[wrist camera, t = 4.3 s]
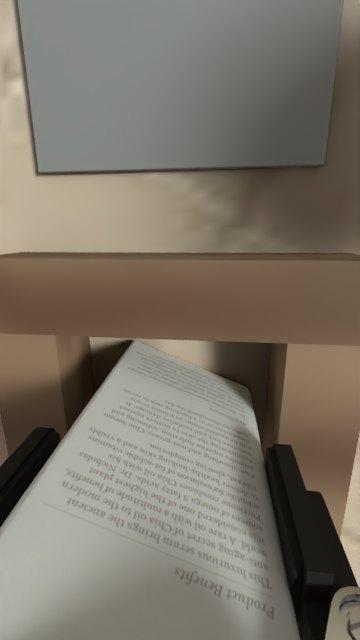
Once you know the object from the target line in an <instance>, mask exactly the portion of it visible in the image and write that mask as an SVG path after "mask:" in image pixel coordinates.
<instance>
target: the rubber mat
mask: <svg viewBox="0 0 360 640" xmlns="http://www.w3.org/2000/svg"><path fill="white" fill-rule="evenodd" d="M343 1H344V0H18V8H19V16H20V24H21V32H22V41H23V49H24V57H25V65H26V73H27V81H28V90H29V98H30V106H31V114H32V122H33V131H34V139H35V147H36V155H37V163H38V171H39V172H40V173H44V174H47V173H84V172H121V171H159V170H196V169H233V168H270V167H308V166H322V165H324V164H325V158H326V149H327V141H328V132H329V123H330V114H331V106H332V97H333V88H334V80H335V71H336V62H337V53H338V45H339V36H340V27H341V18H342V10H343Z"/></svg>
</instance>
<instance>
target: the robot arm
mask: <svg viewBox="0 0 360 640" xmlns="http://www.w3.org/2000/svg"><path fill="white" fill-rule="evenodd" d="M60 442H61V441H60V435H59V433H56V431H55V429H54V428H46V427H37V428H35V429H34V430H33V431H32V432H31V433H30V435H29V436H28V437H27V438H26V439H25V440H24V441H23V442H22V443H21V444H20V446H19V447H18V448H17V449H16V450H15V451H14V452H13V453H12V454H11V455H10V457H9V458H8V459H7V460H6V461H5V462H4V463H3V464H2V465H1V466H0V527H1V526H2V524H3V523H4V522H5V520H6V519H7V517H8V516H9V514H10V513H11V512H12V510H13V509H14V507H15V506H16V504H17V503H18V501H19V500H20V498H21V497H22V495H23V494H24V493H25V491H26V490H27V489H28V487H29V486H30V485H31V483H32V482H33V480H34V478H35V477H36V476H37V474H38V473H39V472H40V470H41V469H42V468H43V466H44V465H45V463H46V462H47V460H48V459H49V458H50V456H51V455H52V453H53V452H54V450H55V449H56V448H57V446H58V445H59V443H60ZM265 468H266V473H267V478H268V483H269V488H270V493H271V498H272V503H273V508H274V512H275V517H276V522H277V528H278V533H279V538H280V543H281V549H282V553H283V558H284V563H285V568H286V573H287V578H288V583H289V588H290V593H291V597H292V602H293V607H294V611H295V616H296V621H297V625H298V631H299V636H300V640H360V587H358V585H357V582H356V580H355V577H354V574H353V572H352V569H351V567H350V564H349V562H348V559H347V556H346V554H345V551H344V549H343V546H342V544H341V541H340V539H339V536H338V533H337V531H336V528H335V526H334V523H333V521H332V518H331V516H330V513H329V510H328V508H327V505H326V503H325V500H324V498H323V496H322V494H321V493H320V492H319V491H308V490H306V487H305V484H304V481H303V478H302V475H301V473H300V470H299V467H298V464H297V461H296V458H295V455H294V452H293V449H292V446H291V445H288V444H273V445H272V448H267V449H266V457H265Z"/></svg>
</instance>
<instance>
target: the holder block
mask: <svg viewBox="0 0 360 640" xmlns="http://www.w3.org/2000/svg"><path fill="white" fill-rule="evenodd" d="M89 337H115V338H144V339H172V340H201V341H230V342H258V343H271V349H270V361H269V373H268V386H267V398H266V410H265V422H264V434H263V446H262V453H263V458H264V463H265V457H266V449H267V448H272V445H273V444H288V445H291V446H292V449H293V452H294V455H295V458H296V461H297V464H298V467H299V470H300V473H301V475H302V478H303V481H304V484H305V487H306V490H308V491H319V492H320V493H321V494H322V496H323V498H324V500H325V503H326V505H327V508H328V510H329V513H330V516H331V518H332V521H333V523H334V526H335V528H336V531H337V533H338V536H339V539H340V535H341V529H342V524H343V518H344V513H345V507H346V502H347V497H348V491H349V486H350V480H351V475H352V469H353V464H354V458H355V453H356V447H357V442H358V437H359V431H360V255H356V254H351V253H65V252H20V253H12V254H4V255H0V412H1V418H2V423H3V428H4V433H5V438H6V444H7V449H8V454H9V457H10V455H11V454H12V453H13V452H14V451H15V450H16V449H17V448H18V447H19V446H20V444H21V443H22V442H23V441H24V440H25V439H26V438H27V437H28V436H29V435H30V433H31V432H32V431H33V430H34V429H35V428H37V427H46V428H54V429H55V431H56V433H59V435H60V441H62V439H63V438H64V436H65V435H66V434H67V432H68V431H69V429H70V428H71V427H72V425H73V424H74V422H75V421H76V419H77V418H78V417H79V415H80V414H81V412H82V411H83V410H84V408H85V407H86V405H87V404H88V402H89V401H90V400H91V398H92V397H93V396H94V384H93V373H92V362H91V352H90V341H89Z"/></svg>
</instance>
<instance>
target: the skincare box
mask: <svg viewBox="0 0 360 640" xmlns="http://www.w3.org/2000/svg"><path fill="white" fill-rule="evenodd" d="M0 640H300V636H299V631H298V625H297V621H296V616H295V611H294V607H293V602H292V597H291V593H290V588H289V583H288V578H287V573H286V568H285V563H284V558H283V553H282V549H281V543H280V538H279V533H278V528H277V522H276V517H275V512H274V508H273V503H272V498H271V493H270V488H269V483H268V478H267V473H266V468H265V463H264V458H263V453H262V449H261V443H260V438H259V433H258V428H257V423H256V419H255V414H254V409H253V404H252V399H251V394H250V391H249V389H248V388H247V387H245V386H243V385H240V384H238V383H235V382H233V381H231V380H228V379H226V378H223V377H221V376H219V375H216V374H214V373H211V372H209V371H207V370H204V369H202V368H200V367H197V366H195V365H192V364H190V363H188V362H185V361H183V360H180V359H178V358H176V357H173V356H171V355H168V354H166V353H164V352H161V351H159V350H157V349H154V348H152V347H149V346H147V345H145V344H143V343H140V342H138V341H135V340H134V341H133V342H132V343H131V344H130V345H129V347H128V348H127V349H126V351H125V352H124V353H123V355H122V356H121V358H120V359H119V361H118V362H117V364H116V365H115V366H114V368H113V369H112V370H111V372H110V373H109V375H108V376H107V378H106V379H105V381H104V382H103V384H102V385H101V386H100V387H99V389H98V390H97V391H96V393H95V394H94V396H93V397H92V398H91V400H90V401H89V402H88V404H87V405H86V407H85V408H84V410H83V411H82V412H81V414H80V415H79V417H78V418H77V419H76V421H75V422H74V424H73V425H72V427H71V428H70V429H69V431H68V432H67V434H66V435H65V436H64V438H63V439H62V441H61V442H60V443H59V445H58V446H57V448H56V449H55V450H54V452H53V453H52V455H51V456H50V458H49V459H48V460H47V462H46V463H45V465H44V466H43V468H42V469H41V470H40V472H39V473H38V474H37V476H36V477H35V478H34V480H33V482H32V483H31V485H30V486H29V487H28V489H27V490H26V491H25V493H24V494H23V495H22V497H21V498H20V500H19V501H18V503H17V504H16V506H15V507H14V509H13V510H12V512H11V513H10V514H9V516H8V517H7V519H6V520H5V522H4V523H3V524H2V526H1V527H0Z"/></svg>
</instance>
